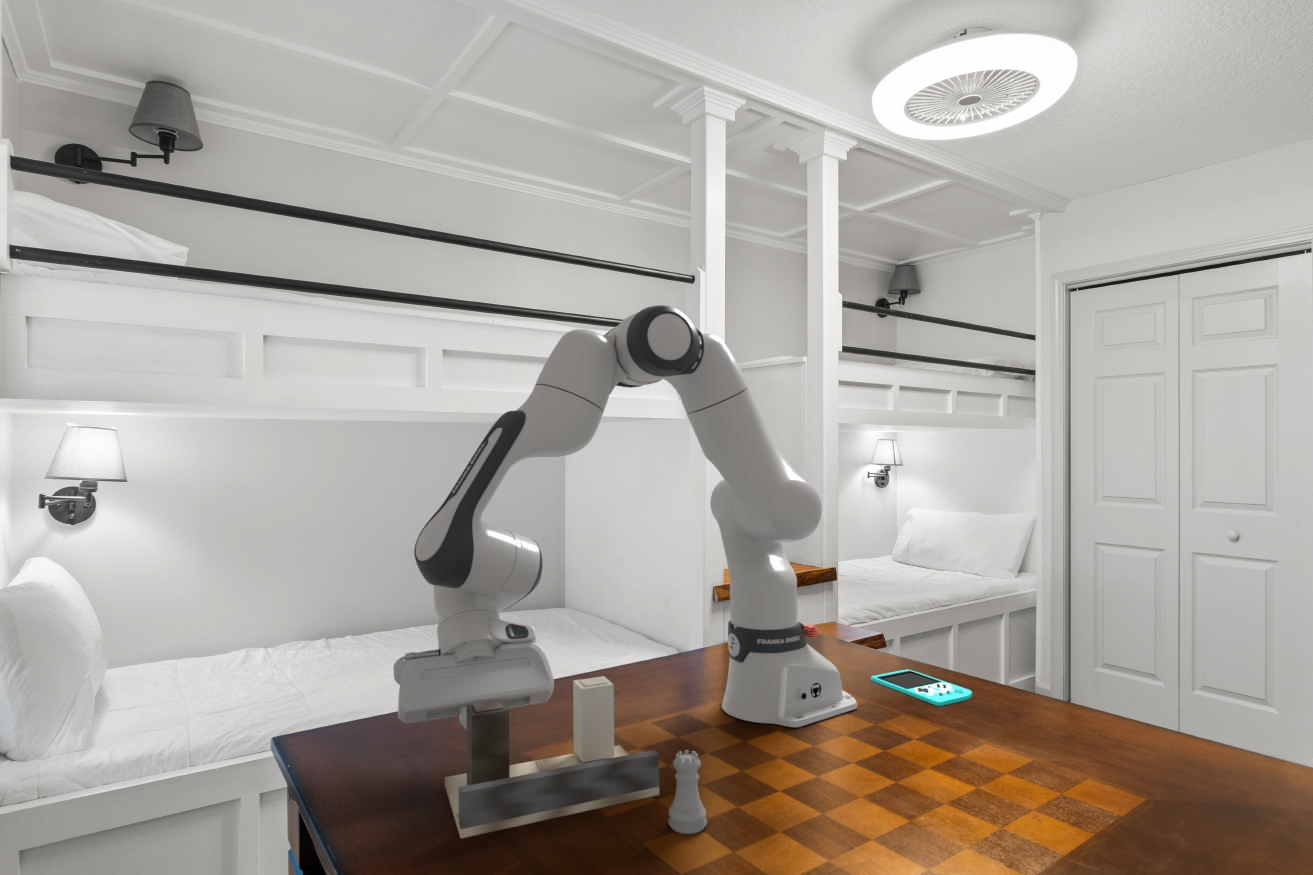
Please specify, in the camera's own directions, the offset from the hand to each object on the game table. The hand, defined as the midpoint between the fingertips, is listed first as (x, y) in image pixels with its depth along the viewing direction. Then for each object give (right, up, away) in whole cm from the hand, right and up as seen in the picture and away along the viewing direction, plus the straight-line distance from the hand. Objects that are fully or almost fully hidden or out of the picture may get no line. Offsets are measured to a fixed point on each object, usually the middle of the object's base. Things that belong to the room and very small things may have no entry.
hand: (484, 741), depth 90 cm
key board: (+9, -6, -1) cm, 10 cm away
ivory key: (+13, -5, +7) cm, 16 cm away
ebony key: (+1, -4, -3) cm, 5 cm away
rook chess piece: (+26, -5, -10) cm, 28 cm away
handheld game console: (+70, -7, +37) cm, 79 cm away
